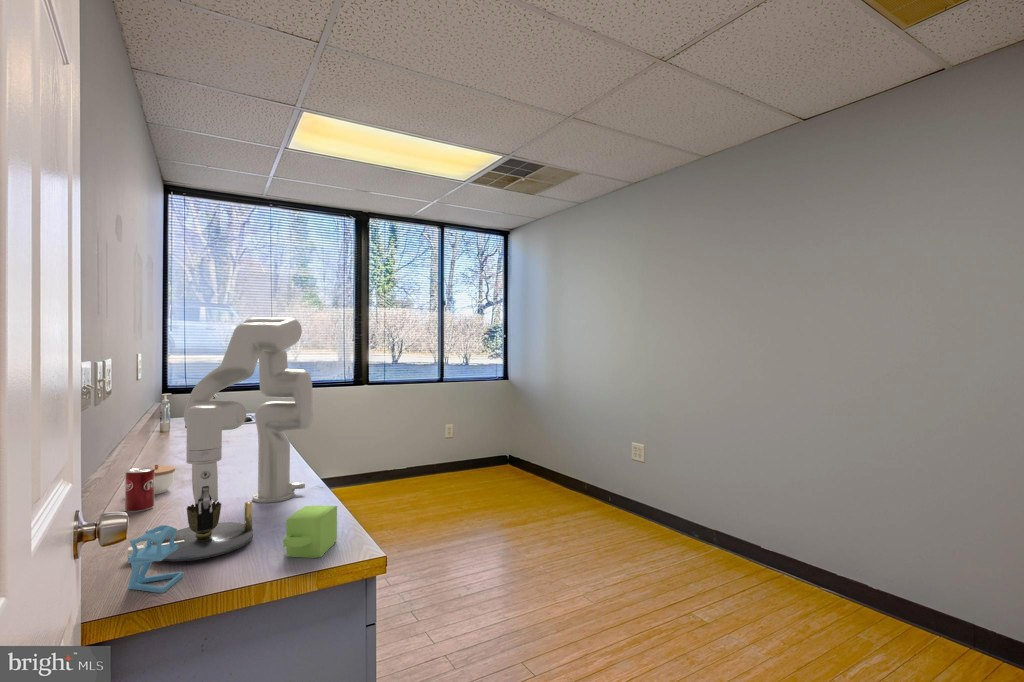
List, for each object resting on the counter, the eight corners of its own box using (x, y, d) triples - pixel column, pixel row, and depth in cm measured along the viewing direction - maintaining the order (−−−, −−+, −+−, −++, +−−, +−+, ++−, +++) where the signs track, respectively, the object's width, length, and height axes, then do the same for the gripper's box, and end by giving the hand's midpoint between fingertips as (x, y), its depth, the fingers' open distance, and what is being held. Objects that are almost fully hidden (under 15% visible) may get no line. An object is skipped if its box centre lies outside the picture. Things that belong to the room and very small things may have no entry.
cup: (195, 545, 122) (196, 511, 122) (180, 538, 126) (180, 506, 126) (227, 535, 128) (227, 503, 128) (211, 529, 132) (211, 498, 132)
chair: (143, 577, 110) (144, 521, 110) (184, 575, 111) (184, 520, 111) (119, 594, 103) (120, 535, 103) (163, 593, 103) (164, 534, 103)
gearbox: (306, 534, 136) (306, 498, 136) (343, 534, 135) (343, 499, 136) (272, 563, 118) (273, 522, 118) (314, 564, 117) (315, 523, 118)
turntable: (246, 521, 142) (246, 491, 142) (259, 547, 124) (259, 513, 124) (150, 538, 129) (150, 505, 129) (148, 569, 111) (148, 532, 111)
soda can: (122, 514, 151) (123, 473, 151) (127, 507, 157) (128, 468, 157) (152, 510, 154) (152, 471, 154) (156, 504, 160) (156, 466, 160)
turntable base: (232, 533, 136) (232, 521, 136) (238, 550, 125) (238, 538, 125) (129, 551, 124) (129, 539, 124) (126, 573, 112) (126, 559, 112)
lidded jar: (137, 498, 166) (137, 470, 166) (136, 491, 174) (136, 463, 174) (176, 492, 173) (177, 465, 173) (173, 485, 181) (173, 459, 181)
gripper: (225, 459, 122) (224, 531, 122) (218, 447, 136) (217, 511, 136) (187, 463, 117) (187, 537, 117) (185, 450, 132) (184, 516, 131)
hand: (203, 523), depth 127 cm, fingers open, 9 cm apart
